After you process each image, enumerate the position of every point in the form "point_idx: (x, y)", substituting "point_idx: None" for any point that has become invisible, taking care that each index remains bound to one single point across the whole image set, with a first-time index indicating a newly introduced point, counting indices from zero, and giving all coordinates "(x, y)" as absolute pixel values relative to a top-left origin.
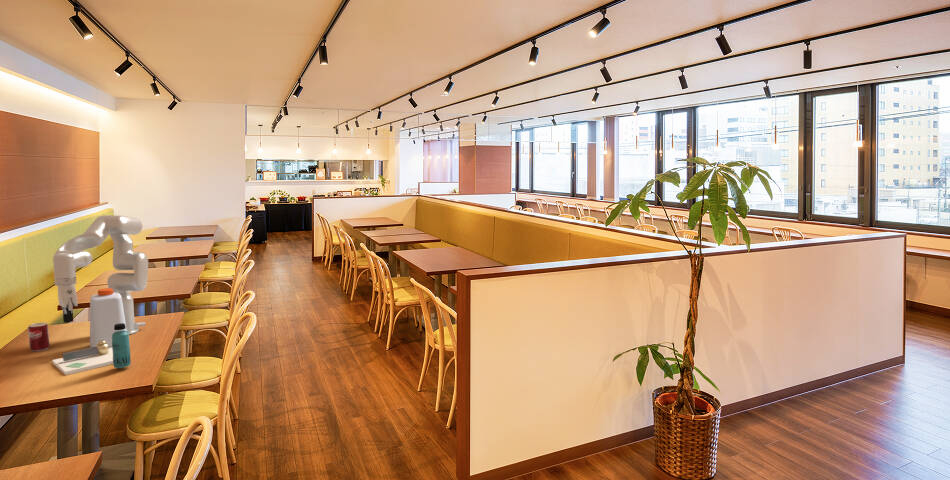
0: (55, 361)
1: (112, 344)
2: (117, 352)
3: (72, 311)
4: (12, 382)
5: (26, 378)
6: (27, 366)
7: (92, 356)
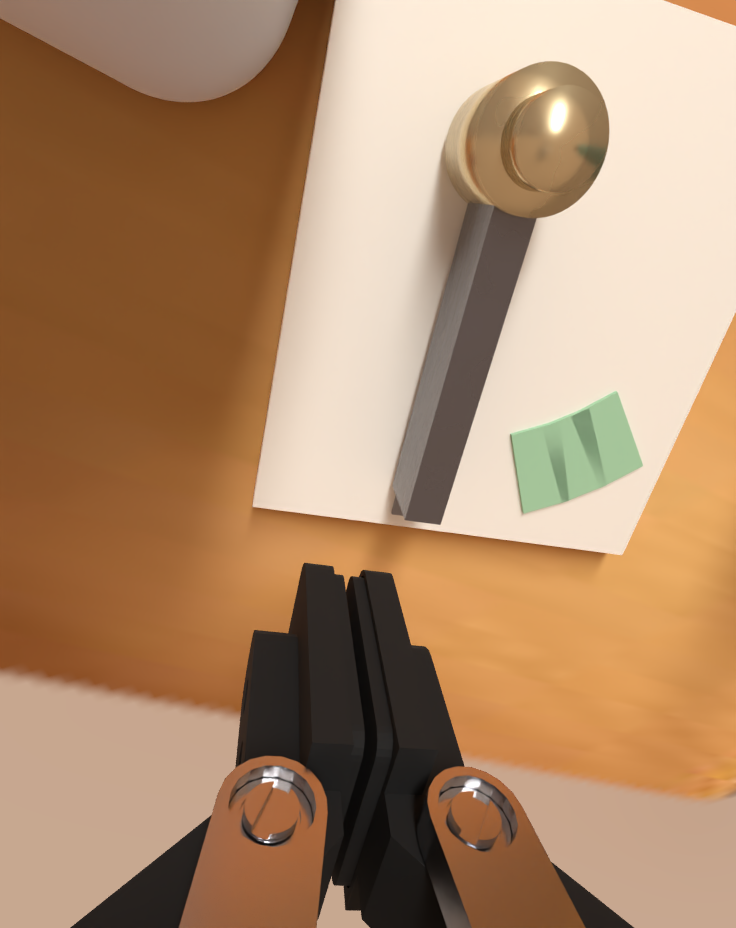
0: (317, 506)
1: None
2: None
3: (532, 836)
4: None
5: None
6: (170, 612)
7: None
